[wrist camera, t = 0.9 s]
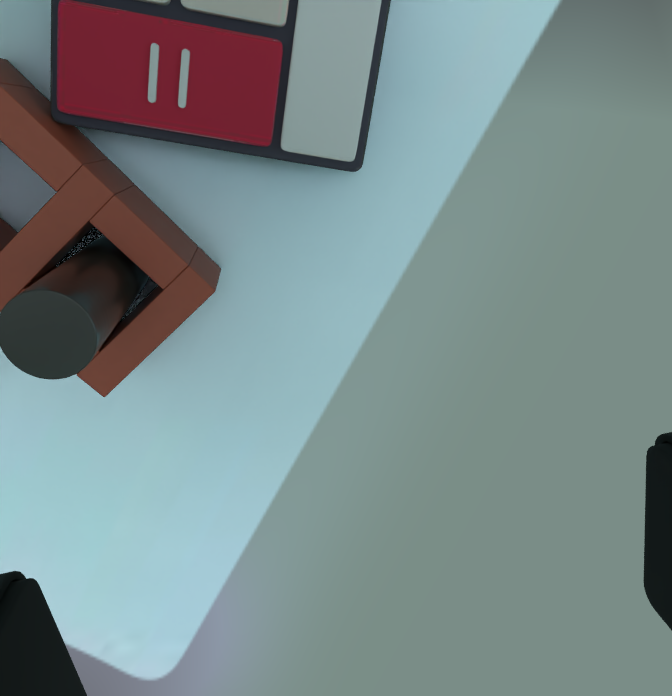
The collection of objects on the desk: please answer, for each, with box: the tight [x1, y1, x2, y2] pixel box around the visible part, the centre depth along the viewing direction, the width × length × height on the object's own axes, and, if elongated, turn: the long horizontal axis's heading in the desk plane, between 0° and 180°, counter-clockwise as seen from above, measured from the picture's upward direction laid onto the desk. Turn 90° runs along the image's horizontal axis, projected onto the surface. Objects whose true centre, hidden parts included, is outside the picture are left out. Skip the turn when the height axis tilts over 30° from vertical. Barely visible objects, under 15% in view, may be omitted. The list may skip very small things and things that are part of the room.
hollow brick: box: [0, 58, 221, 397], centre depth 31 cm, size 15×8×5 cm, turn 42°
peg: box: [0, 236, 149, 379], centre depth 29 cm, size 4×4×12 cm
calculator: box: [50, 0, 391, 172], centre depth 29 cm, size 11×4×15 cm
